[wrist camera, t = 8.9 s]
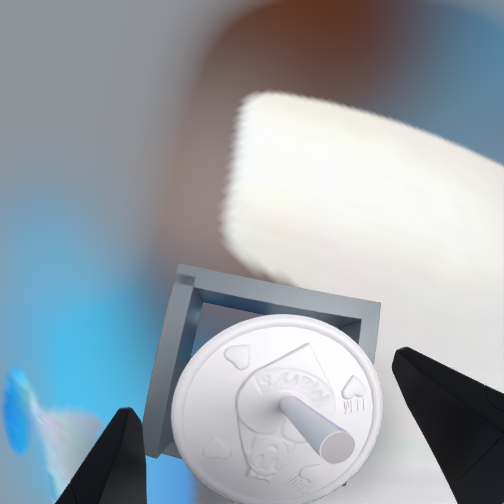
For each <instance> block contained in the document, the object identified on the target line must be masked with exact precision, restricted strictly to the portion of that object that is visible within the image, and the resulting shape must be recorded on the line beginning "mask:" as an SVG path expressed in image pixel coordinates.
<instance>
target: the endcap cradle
mask: <svg viewBox="0 0 504 504" xmlns="http://www.w3.org/2000/svg"><path fill="white" fill-rule="evenodd" d="M203 302H206V303H211V304H215V305H220V306H225V307H229V308H234V309H239V310H244V311H248V312H253V313H258V314H264V315H277V314H288V315H299V316H305V317H309V318H313V319H317V320H320V321H322V322H325V323H327V324H329V325H331V326H334V327H338V328H337V329H339V330H340V331H342V332H343V333H345V334H346V335H347V336H349V337H350V338H351V339H352V340H353V341H355V342H356V343H357V344H358V345H359V346H360V348H361V349H362V350H363V351H364V352H365V354H366V355H367V357H368V358H369V359H370V361H371V363H372V365H374V358H375V351H376V344H377V336H378V327H379V318H380V307H381V303H380V302H374V301H368V300H362V299H357V298H351V297H345V296H340V295H334V294H329V293H323V292H318V291H313V290H307V289H302V288H297V287H292V286H287V285H281V284H276V283H271V282H266V281H261V280H256V279H251V278H246V277H241V276H236V275H231V274H227V273H222V272H217V271H212V270H208V269H203V268H198V267H194V266H189V265H184V264H179V266H178V269H177V273H176V277H175V281H174V284H173V288H172V292H171V296H170V299H169V303H168V307H167V311H166V315H165V319H164V323H163V327H162V331H161V336H160V340H159V344H158V349H157V353H156V357H155V362H154V367H153V371H152V376H151V381H150V386H149V391H148V396H147V402H146V406H145V412H144V417H143V423H142V427H143V439H144V449H145V455H147V456H150V457H153V458H158V457H159V455H160V454H161V453H163V454H166V455H170V456H173V457H177V458H180V459H182V457H181V455H180V453H179V451H178V448H177V446H176V443H175V439H174V436H173V430H172V421H171V411H172V402H173V396H174V392H175V389H176V386H177V383H178V381H179V378H180V376H181V374H182V372H183V371H184V369H185V367H186V366H187V364H188V363H189V361H190V357H191V352H192V348H193V343H194V339H195V334H196V330H197V326H198V321H199V316H200V313H201V308H202V304H203ZM346 482H347V481H346ZM346 482H345V483H344V484H343V485H341V486H345V485H346Z"/></svg>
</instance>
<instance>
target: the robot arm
mask: <svg viewBox="0 0 504 504" xmlns="http://www.w3.org/2000/svg"><path fill="white" fill-rule="evenodd" d="M392 371H393V374H394V376H395V378H396V380H397V383H398V385H399V387H400V390H401V392H402V395H403V397H404V399H405V402H406V404H407V406H408V408H409V410H410V411H411V413H412V415H413V417H414V419H415V420H416V422H417V424H418V426H419V428H420V430H421V431H422V433H423V435H424V437H425V439H426V441H427V443H428V444H429V446H430V448H431V450H432V452H433V454H434V456H435V458H436V460H437V462H438V464H439V466H440V468H441V470H442V472H443V474H444V476H445V478H446V480H447V482H448V484H449V486H450V488H451V490H452V492H453V495H454V497H455V499H456V501H457V503H458V504H504V393H501V392H499V391H497V390H495V389H492V388H490V387H488V386H486V385H485V386H484V384H482V383H480V382H478V381H476V380H474V379H472V378H470V377H468V376H466V375H464V374H462V373H459V372H457V371H455V370H453V369H451V368H449V367H447V366H445V365H443V364H441V363H439V362H437V361H435V360H433V359H431V358H429V357H427V356H425V355H423V354H421V353H419V352H417V351H415V350H413V349H411V348H409V347H403V348H400V349H398V350H397V351H396V352H395V355H394V359H393V363H392ZM55 504H147V495H146V458H145V449H144V439H143V427H142V423H141V420H140V419H139V418H138V416H137V415H136V413H135V412H134V410H133V409H132V408H130V407H128V408H120V409H119V410H118V411H117V412H116V414H115V415H114V417H113V418H112V420H111V421H110V423H109V424H108V426H107V427H106V429H105V430H104V432H103V433H102V434H101V436H100V437H99V439H98V440H97V442H96V443H95V445H94V446H93V448H92V449H91V451H90V452H89V454H88V455H87V457H86V458H85V460H84V461H83V463H82V464H81V466H80V467H79V469H78V470H77V472H76V473H75V475H74V477H73V478H72V480H71V481H70V483H69V484H68V486H67V487H66V489H65V490H64V492H63V493H62V494H61V496H60V497H59V499H58V500H57V501H56V503H55Z"/></svg>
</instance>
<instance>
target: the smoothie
mask: <svg viewBox="0 0 504 504" xmlns="http://www.w3.org/2000/svg"><path fill="white" fill-rule="evenodd" d="M382 414H383V399H382V391H381V386H380V382H379V379H378V376H377V373H376V371H375V369H374V367H373V365H372V363H371V361H370V359H369V358H368V357H367V355H366V354H365V352H364V351H363V350H362V349H361V348H360V346H359V345H358V344H357V343H356V342H355V341H353V340H352V339H351V338H350V337H349V336H347V335H346V334H345V333H343V332H342V331H340V330H339V329H337V328H335V327H334V326H331V325H329V324H327V323H325V322H322V321H320V320H317V319H313V318H309V317H305V316H299V315H288V314H277V315H267V316H261V317H256V318H252V319H249V320H246V321H243V322H240V323H238V324H235V325H233V326H231V327H229V328H227V329H225V330H223V331H222V332H221V333H219V334H217V335H216V336H214V337H213V338H212V339H210V340H209V341H208V342H207V343H205V344H204V345H203V347H201V348H200V349H199V350H198V351H197V353H196V354H195V355H194V356H193V357H192V358H191V360H190V361H189V363H188V364H187V366H186V367H185V369H184V371H183V372H182V374H181V376H180V378H179V381H178V383H177V386H176V389H175V392H174V396H173V402H172V411H171V421H172V430H173V436H174V439H175V443H176V446H177V448H178V451H179V453H180V455H181V457H182V459H183V461H184V462H185V464H186V465H187V467H188V468H189V469H190V471H191V472H192V473H193V474H194V475H195V477H196V478H197V479H198V480H200V481H201V482H202V483H203V484H204V485H205V486H207V487H208V488H209V489H210V490H212V491H214V492H215V493H217V494H218V495H220V496H222V497H224V498H226V499H228V500H231V501H233V502H236V503H239V504H306V503H309V502H312V501H314V500H317V499H319V498H321V497H323V496H326V495H327V494H329V493H331V492H333V491H334V490H336V489H337V488H339V487H340V486H341V485H343V484H344V483H345V482H346V481H348V480H349V479H350V478H351V477H352V476H353V475H354V474H355V473H356V472H357V471H358V470H359V468H360V467H361V466H362V465H363V463H364V462H365V460H366V459H367V457H368V456H369V454H370V452H371V451H372V449H373V447H374V444H375V442H376V440H377V437H378V434H379V431H380V427H381V422H382Z"/></svg>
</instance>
